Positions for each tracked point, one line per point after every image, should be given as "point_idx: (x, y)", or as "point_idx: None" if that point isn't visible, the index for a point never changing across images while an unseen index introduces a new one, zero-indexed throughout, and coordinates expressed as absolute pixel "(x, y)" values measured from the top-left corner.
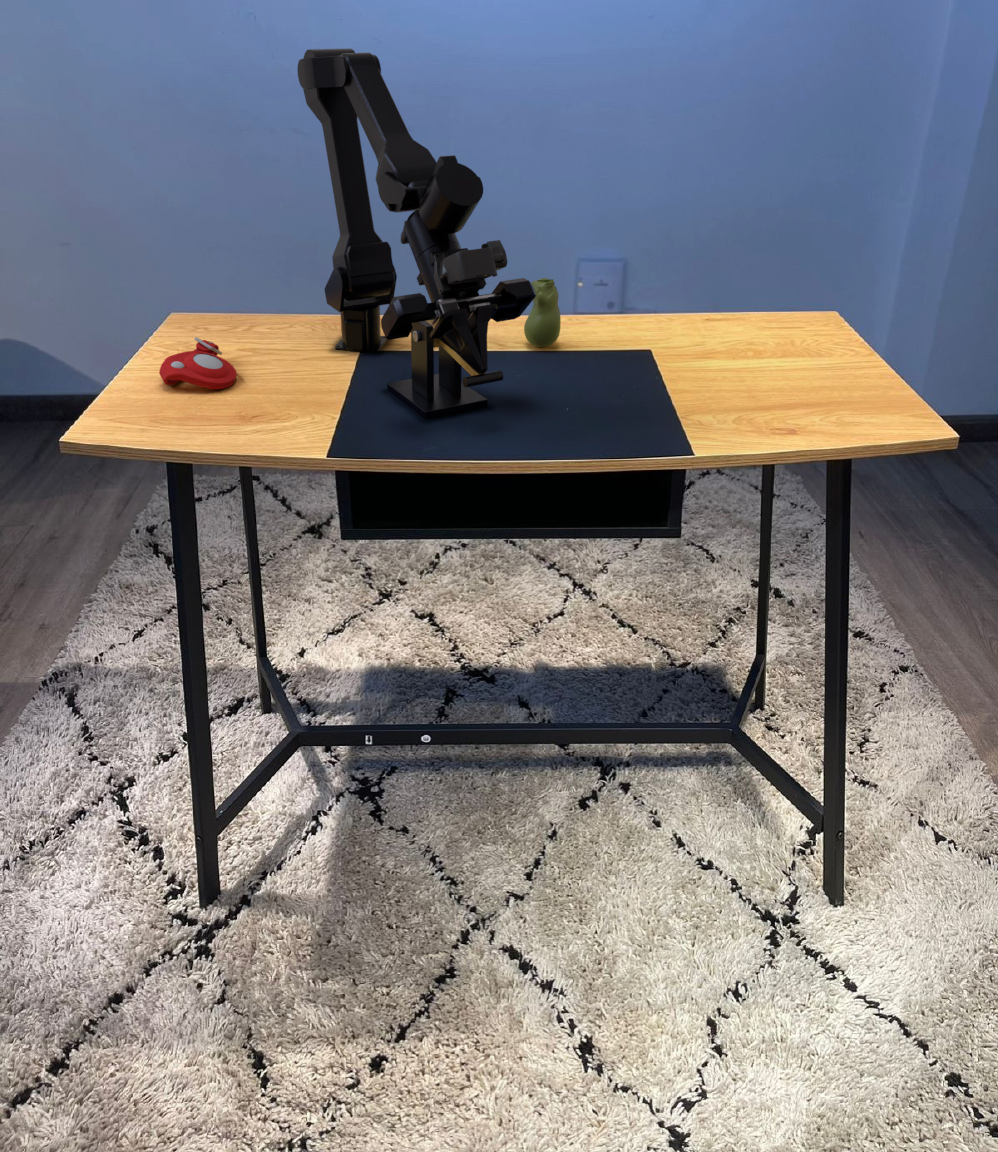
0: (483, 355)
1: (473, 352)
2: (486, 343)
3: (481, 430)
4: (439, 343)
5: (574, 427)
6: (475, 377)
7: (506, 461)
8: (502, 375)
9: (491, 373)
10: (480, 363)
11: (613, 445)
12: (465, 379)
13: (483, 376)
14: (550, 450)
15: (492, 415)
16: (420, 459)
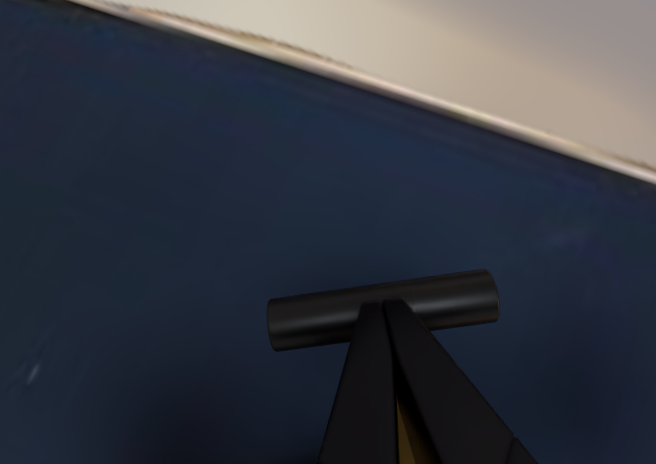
0: (375, 361)
1: (458, 376)
2: (330, 438)
3: None
4: None
5: (82, 233)
6: (436, 289)
7: (376, 81)
8: (273, 300)
9: (332, 310)
10: (407, 320)
11: (42, 82)
12: (495, 288)
13: (386, 295)
14: (225, 108)
15: (282, 413)
16: (619, 173)
